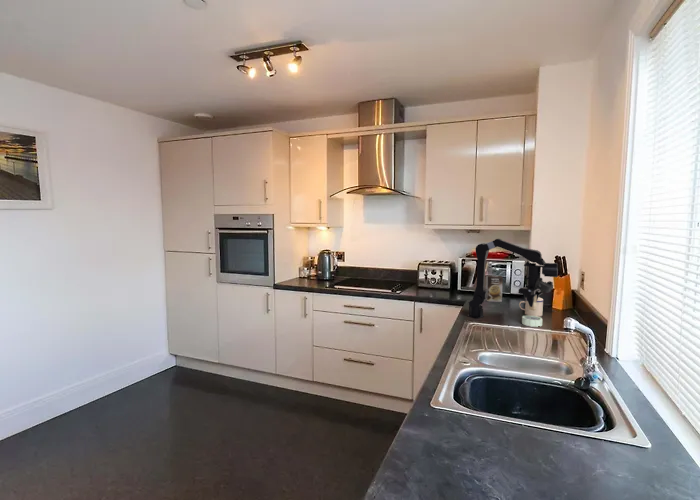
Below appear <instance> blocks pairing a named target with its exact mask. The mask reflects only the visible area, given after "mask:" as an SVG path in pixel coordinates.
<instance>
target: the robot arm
mask: <svg viewBox="0 0 700 500" xmlns="http://www.w3.org/2000/svg"><path fill="white" fill-rule="evenodd" d="M497 247H498V248H500V249H503V250H506V251H508V252H511V253H514V254H517V255H519V256H522V258H524V259H525V260H527V261H526V263H524V265H523V266H524V267H527V276H526V277H525V280H527V283H526V285H525V287H520V288H518V294H519V295H524V297H525V298H526V299H527V301H528V303H529V305H530V307H532V306H533V302H534V297H535V296H536V295H537V300H538V297H540V296H541V295H543V294H544V293H546V294H548V293H551V291H552V289H554V285H553V281H550V280H549V281H547V282H546V281H544V280H543V278H542V277H541V274H542V275H543V276H544V277H549V278H550V277H552V278H558V271H559V269H558V265H559V264H558V262H553V263H552V262H546V261H545V260H544V259H543V257H542V255H543V254H542V253H541V251H540V250H538V249H532V248H527V247H526V248H525V247H522V246H520V245H518V244H517V245H516V244H514V243H512V242H509V241H506V240H503V239H501V238H495V239H494V240H491V241H489V242H487V243H485V242H484V243H483V242H481V243H479V244H477V245H476V247H475V254H476V259H477V267H476V268H477V269H476V284H475V285H476V286H475V290H474V292H473V296H472V299H471V300H470V301H469V302H468V314H467V315H466V316H467V317H469V318H474V319H481V318H483V317H485V315H484V308H483V303H484V302H486V298H487V297H488V295H487V293H488V290H486V268H487V267H486V264H487V259H488V255H489V253H490V250H492V249H495V248H497Z"/></svg>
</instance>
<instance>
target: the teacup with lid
mask: <svg viewBox="0 0 700 500" xmlns="http://www.w3.org/2000/svg"><path fill="white" fill-rule="evenodd" d="M524 299H525V300H521V301H519V304H518V306H519V308H520V309H521V310H522V311H524V315H525V316H527V315H530V316H537V317H540V318H541V317H542V316H543V312H544V311H543V307H544V299H543V298H542V297H540V296H539V297H538V300H537V303H536V310H534V311H533V310H529V303H528V301H527V299H526V297H525V298H524ZM522 303H525V305H524V306H525V308H523V307H522V306H521V304H522Z"/></svg>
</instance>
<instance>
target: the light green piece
mask: <svg viewBox="0 0 700 500" xmlns="http://www.w3.org/2000/svg"><path fill="white" fill-rule="evenodd" d="M521 323H522V325H524V326H527V327H532V328H539V327H538V326H540V327H542V326H543V317H541V316H540V317H537V316H530V315H522V316H521Z"/></svg>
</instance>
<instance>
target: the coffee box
mask: <svg viewBox="0 0 700 500" xmlns="http://www.w3.org/2000/svg"><path fill="white" fill-rule="evenodd" d="M503 280H504V277H503V276H501V275H488V274H487V275H486V274H485V290H488V293H487V295H488V297H487V298H486V300H485V302H493V303H494V302H495V303H496V302H497V303H502V302H503V282H504V281H503Z"/></svg>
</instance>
